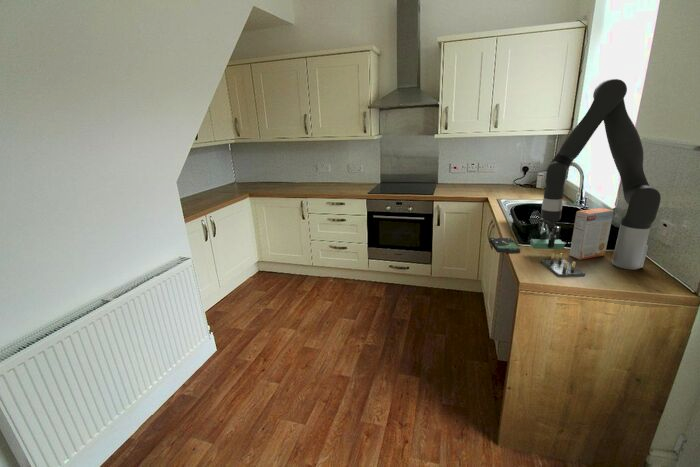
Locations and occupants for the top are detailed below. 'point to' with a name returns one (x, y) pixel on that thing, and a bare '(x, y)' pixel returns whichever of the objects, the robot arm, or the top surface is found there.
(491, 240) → the disk drive
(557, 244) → the board
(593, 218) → the cracker box
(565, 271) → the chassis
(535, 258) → the top surface
